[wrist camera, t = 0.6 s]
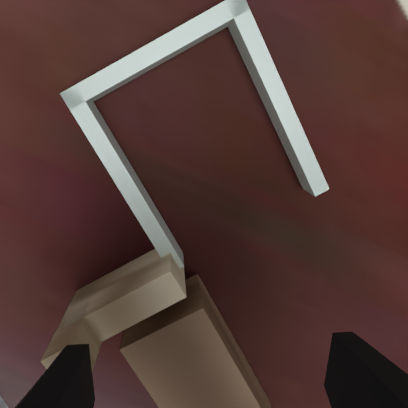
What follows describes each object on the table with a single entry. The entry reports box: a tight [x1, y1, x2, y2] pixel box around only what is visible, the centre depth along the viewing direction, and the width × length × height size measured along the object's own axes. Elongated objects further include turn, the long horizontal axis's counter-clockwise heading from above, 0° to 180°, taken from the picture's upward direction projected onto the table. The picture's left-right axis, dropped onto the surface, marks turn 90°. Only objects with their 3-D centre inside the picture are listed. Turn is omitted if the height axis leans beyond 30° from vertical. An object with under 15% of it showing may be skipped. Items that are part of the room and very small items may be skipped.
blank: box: [119, 274, 271, 408], centre depth 21 cm, size 4×10×4 cm, turn 27°
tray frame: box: [60, 0, 329, 268], centre depth 18 cm, size 9×10×2 cm
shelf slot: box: [40, 249, 187, 372], centre depth 20 cm, size 6×15×6 cm, turn 28°
